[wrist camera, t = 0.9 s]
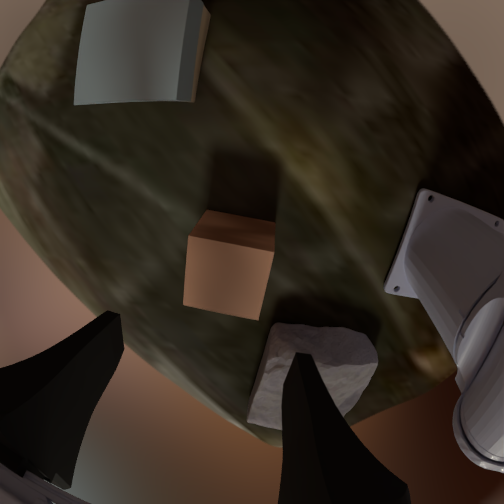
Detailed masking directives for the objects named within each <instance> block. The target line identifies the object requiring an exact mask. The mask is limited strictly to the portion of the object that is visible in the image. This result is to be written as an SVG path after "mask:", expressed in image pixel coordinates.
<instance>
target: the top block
mask: <svg viewBox="0 0 504 504" xmlns="http://www.w3.org/2000/svg"><path fill="white" fill-rule="evenodd" d="M203 5H204V3H203V2H202V1H201V0H106V1H102V2H97V3H94V4H90V5H87V8H86V13H85V18H84V23H83V28H82V34H81V40H80V47H79V54H78V62H77V71H76V81H75V94H74V105H84V104H101V103H116V102H138V101H190V102H191V97H192V87H193V78H194V69H195V61H196V53H197V45H198V38H199V31H200V24H201V18H202V11H203Z"/></svg>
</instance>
